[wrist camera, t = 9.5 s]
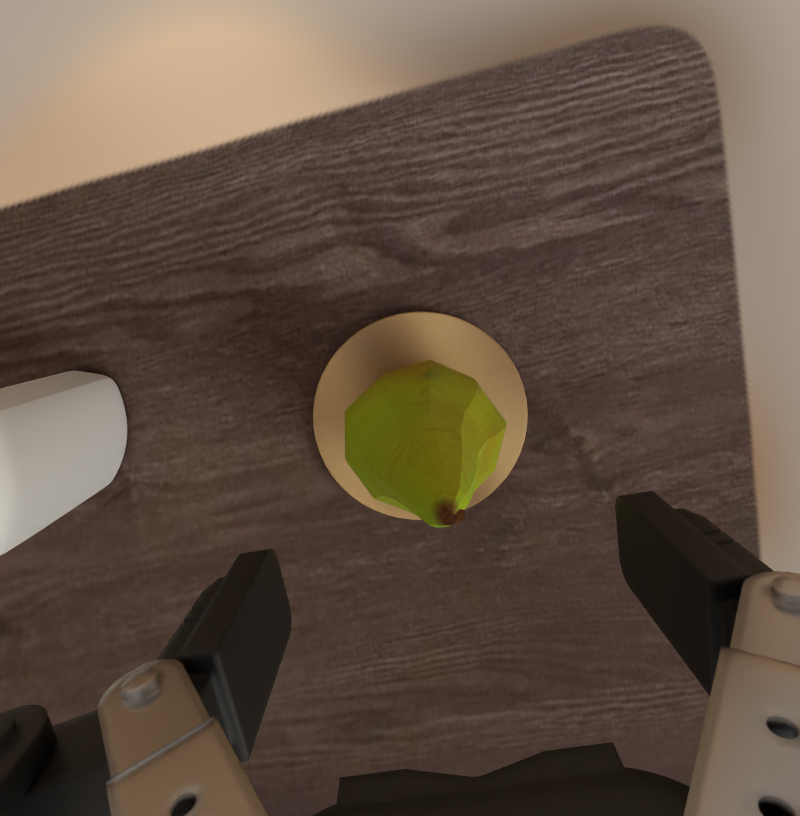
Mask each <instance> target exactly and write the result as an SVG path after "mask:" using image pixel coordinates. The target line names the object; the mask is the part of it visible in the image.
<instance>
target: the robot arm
mask: <svg viewBox="0 0 800 816" xmlns="http://www.w3.org/2000/svg"><path fill="white" fill-rule="evenodd" d="M615 509H616V521H617V533H618V545H619V557H620V564H621V568H622V572H623V575H624V577H625V580H626V582H627V584H628V586H629V587H630V589H631V590H632V591H633V593H634V594H635V595H636V597H637V598H638V599H639V601H640V602H641V603H642V605H643V606H644V608H645V609H646V610H647V612H648V613H649V614H650V616H651V617H652V618H653V620H654V621H655V622H656V624H657V625H658V627H659V628H660V629H661V631H662V632H663V633H664V635H665V636H666V637H667V639H668V640H669V641H670V643H671V644H672V645H673V647H674V648H675V650H676V651H677V652H678V654H679V655H680V656H681V658H682V659H683V660H684V662H685V663H686V664H687V666H688V667H689V669H690V670H691V671H692V673H693V674H694V675H695V677H696V678H697V679H698V681H699V682H700V683H701V685H702V686H703V687H704V689H705V690H706V692H707V693H708V694H709V696H710V699H709V704H708V708H707V712H706V717H705V721H704V726H703V730H702V735H701V739H700V744H699V748H698V753H697V757H696V762H695V766H694V771H693V775H692V780H691V784H690V787H689V786H687V785H685V784H682V783H680V782H678V781H675V780H673V779H671V778H668V777H665V776H662V775H658V774H655V773H652V772H648V771H643V770H639V769H634V768H626V767H624V766H623V764H622V762H621V759H620V757H619V755H618V753H617V751H616V748H615V746H614V744H613V742H611V743H604V744H596V745H588V746H581V747H573V748H565V749H558V750H550V751H544V752H541V753H539V754H536V755H534V756H531V757H528V758H526V759H523V760H521V761H518V762H516V763H513V764H511V765H508V766H506V767H503V768H501V769H498V770H496V771H493V772H490V773H488V774H485V775H482V776H478V777H467V776H458V775H450V774H442V773H433V772H425V771H416V770H408V769H404V770H396V771H388V772H381V773H373V774H365V775H358V776H350V777H342V778H340V783H339V791H338V798H337V804H335V805H333V806H330V807H328V808H326V809H324V810H322V811H320V812H318V813H317V814H315V815H313V816H800V574H797V573H791V572H779V571H775V572H774V571H773V570H772V569H771V568H769V567H768V566H767V565H765V564H764V563H763V562H762V561H760V560H759V559H758V558H756V557H755V556H754V555H753V554H751V553H750V552H749V551H747V550H746V549H745V548H744V547H742V546H741V545H740V544H738V543H737V542H735V543H734V540H733V539H732V538H731V537H729V536H728V535H727V534H726V533H724V532H721V530H720V529H719V528H718V527H717V526H715V525H714V524H713V523H711V522H710V521H709V520H708V519H706V518H705V517H703V516H700V515H698V514H695V513H692V512H690V511H687V510H685V509H674V508H672V507H671V506H670V505H669V504H668V503H666V502H665V501H664V500H663V499H662V498H660V497H659V496H658V495H657V494H656V493H654V492H653V491H648V492H642V493H635V494H629V495H622V496H618V497H617V498H616V503H615ZM290 632H291V611H290V605H289V601H288V597H287V593H286V589H285V585H284V582H283V578H282V574H281V570H280V566H279V562H278V558H277V555H276V553H275V551H274V550H273V549H268V550H261V551H255V552H248V553H242V554H240V555H239V556H238V557H237V559H236V561H235V562H234V564H233V565H232V567H231V569H230V570H229V572H228V573H227V575H226V577H223V578H219V579H218V580H216V581H215V582H214V583H213V584H211V585H210V586H209V587H208V588H207V589H205V590H204V591H203V592H202V593H201V595H200V596H199V598H198V599H197V601H196V602H195V604H194V605H193V607H192V610H190V611H189V613H188V614H187V616H186V617H185V619H184V623H181V625H180V626H179V628H178V629H177V631H176V632H175V634H174V635H173V637H172V638H171V640H170V641H169V643H168V644H167V646H166V647H165V649H164V650H163V652H162V653H161V655H160V657H159V658H158V660H156V661H152V662H149V663H146V664H144V665H141V666H139V667H137V668H135V669H133V670H131V671H130V672H128V673H126V674H125V675H123V676H122V677H121V678H119V679H118V680H117V681H115V682H114V683H113V684H112V685H111V686H110V687H109V688H108V689H107V691H106V692H105V693H104V694H103V696H102V697H101V699H100V701H99V704H98V710H96V711H93V712H90V713H88V714H85V715H82V716H79V717H77V718H74V719H71V720H69V721H66V722H63V723H60V724H58V725H55V726H52V724H51V721H50V719H49V716H48V714H47V711H46V710H45V708H43V707H42V706H39V705H26V706H22V707H18V708H15V709H12V710H9V711H7V712H4V713H2V714H0V816H268V815H267V813H266V812H265V810H264V808H263V806H262V804H261V802H260V800H259V798H258V796H257V794H256V792H255V790H254V789H253V787H252V785H251V783H250V781H249V779H248V777H247V775H246V773H245V771H244V769H243V768H242V766H241V764H240V762H239V761H247V760H249V757H250V754H251V751H252V748H253V745H254V742H255V739H256V735H257V732H258V729H259V726H260V723H261V720H262V717H263V714H264V711H265V708H266V705H267V702H268V699H269V696H270V693H271V690H272V687H273V684H274V681H275V678H276V675H277V672H278V669H279V666H280V663H281V660H282V657H283V654H284V651H285V648H286V645H287V642H288V639H289V636H290Z"/></svg>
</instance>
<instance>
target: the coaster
mask: <svg viewBox="0 0 800 816" xmlns="http://www.w3.org/2000/svg"><path fill="white" fill-rule="evenodd" d="M427 360H433V361H435V362H437V363H440V364H442V365H444V366H447V367H449V368H451V369H453V370H456V371H458V372H460V373H463V374H465V375H467V376H470V377H472V378H474V379H475V380H476V381H477V383H478V384H479V385H480V387H481V388H482V390H483V391H484V392H485V394H486V395H487V396H488V398H489V399H490V400H491V402H492V403H493V405H494V406H495V407H496V409H497V410H498V411H499V413H500V414H501V416H502V417H503V418H504V420H505V421H506V422H507V423H506V429H505V433H504V437H503V441H502V445H501V449H500V453H499V457H498V461H497V465H496V469H495V471H494V472H493V473H492V474H491V475H490V476H489V477H488V478H487V479H486V480H485V481H484V482H483V483H482V484H481V485H480V486H479V487H478V488H477V489H476V490H475V491H474V492H473V496H472V498H471V500H470V502H469V504H468V506H467V507H466V508H465V509H464V510H466V509H468V508H470V507H472V506H474V505H475V504H477V503H479V502H480V501H482V500H483V499H484V498H486V497H487V496H489V495H490V494H491V493H492V492H493V491H494V490H495V489H496V488H497V487H498V486H499V485H500V484H501V483H502V482H503V481H504V479H505V478H506V477H507V476H508V474H509V473H510V471H511V470H512V468H513V466H514V465H515V463H516V461H517V459H518V457H519V455H520V452H521V449H522V446H523V443H524V440H525V435H526V429H527V417H528V411H527V399H526V395H525V390H524V386H523V383H522V381H521V378H520V375H519V373H518V371H517V369H516V367H515V365H514V364H513V362H512V360H511V359H510V357H509V356H508V355H507V353H506V352H505V351H504V349H503V348H502V347H501V346H500V345H499V344H498V343H497V342H496V341H495V340H494V339H493V338H492V337H490V336H489V335H488V334H486V333H485V332H484V331H483V330H481V329H479V328H478V327H476V326H474V325H472V324H471V323H469V322H467V321H464V320H462V319H459V318H457V317H454V316H450V315H446V314H443V313H436V312H428V311H413V312H406V313H399V314H395V315H391V316H388V317H384V318H382V319H380V320H377V321H375V322H373V323H371V324H369V325H367V326H366V327H364V328H362V329H361V330H359V331H358V332H357V333H355V334H354V335H353V336H352V337H350V338H349V339H348V340H347V341H346V342H345V343H344V344H343V345H342V346H341V347H340V348H339V349H338V350H337V351H336V353H335V354H334V356H333V357H332V358H331V360H330V361H329V363H328V364H327V366H326V368H325V370H324V372H323V374H322V376H321V379H320V381H319V384H318V387H317V391H316V395H315V399H314V408H313V426H314V433H315V439H316V443H317V446H318V449H319V452H320V455H321V457H322V459H323V461H324V463H325V465H326V467H327V469H328V470H329V472H330V473H331V475H332V476H333V478H334V479H335V480H336V481H337V482H338V483H339V485H340V486H341V487H342V488H343V489H344V490H345V491H346V492H348V493H349V494H350V495H351V496H352V497H353V498H355V499H356V500H358V501H359V502H361V503H362V504H364V505H366V506H367V507H369V508H371V509H373V510H375V511H378V512H381V513H383V514H386V515H389V516H393V517H398V518H404V519H412V520H422V519H420V518H419V517H418V516H417V515H415V514H413V513H410V512H408V511H405V510H403V509H400V508H397V507H395V506H392V505H389V504H387V503H384V502H381V501H379V500H376V499H374V498H373V497H372V496H371V494H370V493H369V492H368V490H367V489H366V487H365V486H364V485H363V483H362V482H361V481H360V479H359V478H358V477H357V475H356V474H355V473H354V471H353V470H352V469H351V467H350V466H349V465H348V463H347V461H346V459H345V411H346V410H347V409H348V407H349V406H350V405H351V404H352V403H353V402H354V401H355V400H357V399H358V398H359V397H360V396H361V395H362V394H363V393H364V392H365V391H366V390H367V389H368V388H369V387H370V386H371V385H372V384H373V383H374V382H375V381H376V380H377V379H378V378H379V377H380V376H381V375H382V374H383V373H386V372H389V371H393V370H396V369H400V368H403V367H407V366H410V365H414V364H417V363H420V362H424V361H427Z"/></svg>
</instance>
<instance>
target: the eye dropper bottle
mask: <svg viewBox="0 0 800 816" xmlns="http://www.w3.org/2000/svg"><path fill="white" fill-rule="evenodd" d="M126 442H127V418H126V412H125V407H124V403H123V400H122V397H121V394H120V391H119V389H118V387H117V384H116V383H115V382H114V381H113V380H112V379H111V378H109V377H107V376H105V375H100V374H95V373H88V372H82V371H68V372H64V373H60V374H56V375H51V376H48V377H44V378H40V379H36V380H32V381H28V382H24V383H20V384H16V385H12V386H8V387H4V388H0V555H2V554H4V553H6V552H8V551H9V550H11V549H12V548H14V547H16V546H17V545H19V544H20V543H22V542H24V541H25V540H27V539H28V538H30V537H31V536H33V535H34V534H36V533H37V532H39V531H40V530H42V529H43V528H45V527H46V526H48V525H49V524H51V523H52V522H54V521H55V520H57V519H58V518H60V517H61V516H63V515H64V514H66V513H67V512H69V511H70V510H72V509H73V508H75V507H76V506H78V505H79V504H81V503H82V502H84V501H85V500H87V499H88V498H90V497H91V496H93V495H94V494H96V493H97V492H99V491H100V490H102V489H103V488H104V487H106V486H107V485H108V484H110V483H111V481H112V480H113V479H114V477H115V475H116V474H117V471H118V469H119V467H120V465H121V462H122V459H123V456H124V453H125V448H126Z"/></svg>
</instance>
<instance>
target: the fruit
mask: <svg viewBox="0 0 800 816" xmlns="http://www.w3.org/2000/svg"><path fill="white" fill-rule="evenodd" d="M506 423H507V422H506V421H505V420H504V418H503V417H502V416H501V414H500V413H499V411H498V410H497V409H496V407H495V406H494V405H493V403H492V402H491V400H490V399H489V398H488V396H487V395H486V394H485V392H484V391H483V390H482V388H481V387H480V385H479V384H478V383H477V381H476V380H475V379H474V378H472V377H470V376H467V375H465V374H463V373H460V372H458V371H456V370H453V369H451V368H449V367H447V366H444V365H442V364H440V363H437V362H435V361H433V360H427V361H424V362H420V363H417V364H414V365H410V366H407V367H403V368H400V369H396V370H393V371H389V372H386V373H383V374H382V375H381V376H380V377H379V378H378V379H377V380H376V381H375V382H374V383H373V384H372V385H371V386H370V387H369V388H368V389H367V390H366V391H365V392H364V393H363V394H362V395H361V396H360V397H359V398H358V399H357V400H355V401H354V402H353V403H352V404H351V405H350V406H349V407H348V409H347V410H346V411H345V459H346V461H347V463H348V465H349V466H350V467H351V469H352V470H353V471H354V473H355V474H356V475H357V477H358V478H359V479H360V481H361V482H362V483H363V485H364V486H365V487H366V489H367V490H368V492H369V493H370V494H371V496H372V497H373V498H374V499H376V500H379V501H381V502H384V503H387V504H389V505H392V506H395V507H397V508H400V509H403V510H405V511H408V512H410V513H413V514H415V515H417V516H418V517H419V518H420V519H422V520H423V521H424V522H426V523H427V524H428V525H431V526H434V527H449V526H455V525H458V524H459V523H460V522H461V521H462V520H463V518H464V517H465V511H464V509H465V508H466V507H467V506H468V504H469V502H470V500H471V498H472V496H473V492H474V491H475V490H476V489H477V488H478V487H479V486H480V485H481V484H482V483H483V482H484V481H485V480H486V479H487V478H488V477H489V476H490V475H491V474H492V473H493V472H494V471H495V469H496V465H497V461H498V457H499V453H500V449H501V445H502V441H503V437H504V433H505V429H506Z"/></svg>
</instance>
